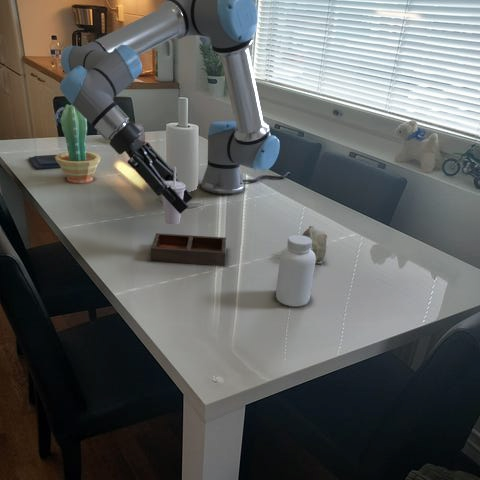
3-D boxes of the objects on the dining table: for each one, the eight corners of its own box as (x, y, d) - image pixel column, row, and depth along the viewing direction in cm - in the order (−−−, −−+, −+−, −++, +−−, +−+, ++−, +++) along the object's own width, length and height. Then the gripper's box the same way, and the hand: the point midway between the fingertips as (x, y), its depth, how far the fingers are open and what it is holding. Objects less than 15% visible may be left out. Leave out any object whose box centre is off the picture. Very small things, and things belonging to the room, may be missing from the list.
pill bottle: (272, 290, 120) (279, 231, 112) (305, 291, 121) (314, 232, 113) (277, 307, 113) (285, 246, 105) (312, 308, 114) (322, 247, 106)
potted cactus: (88, 170, 190) (81, 99, 177) (110, 181, 181) (105, 107, 168) (49, 177, 180) (39, 102, 167) (71, 188, 172) (62, 110, 158)
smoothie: (180, 228, 125) (181, 172, 118) (156, 224, 126) (155, 168, 119) (188, 219, 131) (189, 165, 123) (164, 215, 132) (164, 161, 124)
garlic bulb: (307, 273, 134) (305, 245, 127) (291, 256, 140) (288, 228, 132) (336, 260, 136) (337, 231, 129) (319, 243, 142) (319, 214, 134)
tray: (156, 245, 137) (155, 233, 135) (225, 249, 138) (226, 237, 136) (150, 261, 129) (150, 248, 127) (224, 265, 130) (225, 252, 128)
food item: (118, 146, 224) (116, 123, 218) (111, 142, 229) (110, 119, 224) (146, 144, 230) (146, 121, 225) (139, 140, 236) (138, 118, 230)
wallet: (34, 164, 185) (27, 154, 197) (34, 169, 186) (28, 158, 198) (88, 161, 194) (80, 151, 205) (89, 166, 195) (80, 156, 206)
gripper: (120, 133, 127) (183, 201, 135) (95, 151, 111) (168, 228, 119) (140, 113, 124) (203, 184, 132) (117, 128, 108) (191, 209, 116)
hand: (186, 205), depth 126 cm, fingers closed on smoothie, 6 cm apart
